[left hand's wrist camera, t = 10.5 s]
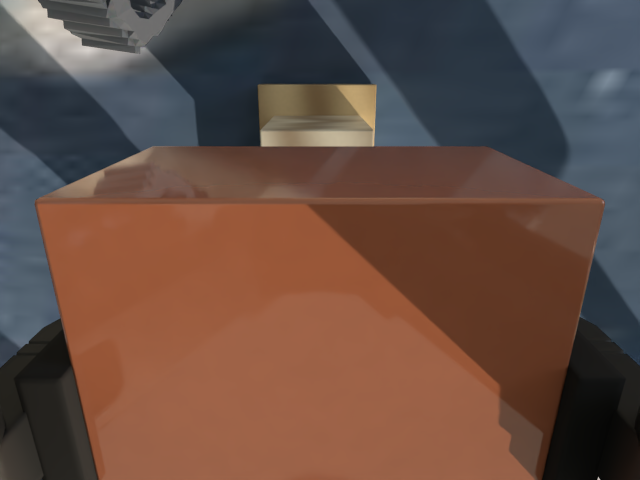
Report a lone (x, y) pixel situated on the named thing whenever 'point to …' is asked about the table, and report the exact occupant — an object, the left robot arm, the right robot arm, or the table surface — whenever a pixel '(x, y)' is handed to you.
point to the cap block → (319, 310)
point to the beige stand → (317, 114)
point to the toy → (112, 21)
